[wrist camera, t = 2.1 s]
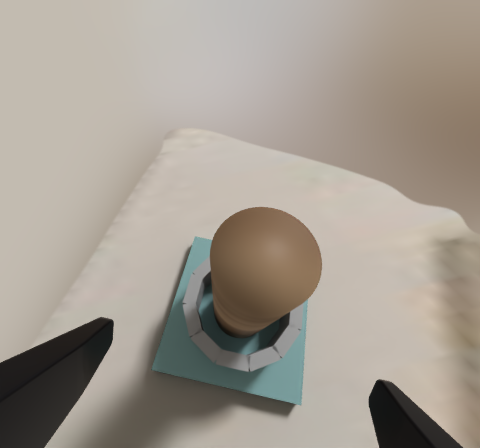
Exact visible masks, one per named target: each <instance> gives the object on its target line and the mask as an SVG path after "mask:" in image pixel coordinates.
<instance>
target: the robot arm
mask: <svg viewBox="0 0 480 448" xmlns="http://www.w3.org/2000/svg"><path fill="white" fill-rule="evenodd" d="M113 326H114V322H113V320H112V319H108V318H104V317H100V318H97V319H95V320H93V321H91V322H89V323H87V324H84V325H82V326H80V327H78V328H76V329H73V330H71V331H69V332H67V333H65V334H62V335H60V336H58V337H56V338H54V339H51V340H49V341H47V342H45V343H43V344H40V345H38V346H36V347H34V348H32V349H29V350H27V351H25V352H23V353H21V354H19V355H17V356H14V357H12V358H10V359H8V360H5V361H3V362H1V363H0V448H44V447H45V446H46V445H47V443H48V442H49V440H50V439H51V437H52V436H53V435H54V433H55V432H56V430H57V429H58V428H59V426H60V425H61V423H62V422H63V421H64V419H65V418H66V416H67V415H68V414H69V412H70V411H71V409H72V408H73V407H74V405H75V404H76V402H77V401H78V399H79V398H80V396H81V395H82V394H83V392H84V390H85V389H86V387H87V385H88V384H89V382H90V380H91V379H92V377H93V375H94V373H95V372H96V370H97V368H98V367H99V365H100V363H101V361H102V360H103V358H104V356H105V355H106V353H107V351H108V350H109V348H110V346H111V344H112V340H113ZM369 408H370V412H371V416H372V420H373V424H374V428H375V432H376V437H377V441H378V445H379V448H463V447H462V446H461V445H460V444H459V443H457V442H456V441H455V440H454V439H453V438H452V437H451V436H450V435H449V434H448V433H447V432H445V431H444V430H443V429H442V428H441V427H440V426H439V425H438V424H437V423H436V422H435V421H434V420H432V419H431V418H430V417H429V416H428V415H427V414H426V413H425V412H424V411H423V410H422V409H421V408H419V407H418V406H417V405H416V404H415V403H414V402H413V401H412V400H411V399H410V398H409V397H408V396H406V395H405V394H404V393H403V392H402V391H401V390H400V389H399V388H398V387H397V386H396V385H394V384H393V383H392V382H390V381H386V380H381V379H379V380H377V381H376V383H375V385H374V387H373V389H372V391H371V394H370V396H369Z"/></svg>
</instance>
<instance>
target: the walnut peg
mask: <svg viewBox="0 0 480 448" xmlns="http://www.w3.org/2000/svg"><path fill="white" fill-rule="evenodd" d="M210 267H211V280H212V293H213V306H214V316H215V319H216V322H217V324H218V326H219V327H220V328H221V330H222V331H223V332H225V333H226V334H227V335H229V336H231V337H234V338H247V337H250V336H253V335H254V334H256V333H257V332H259V331H260V330H262V329H264V328H265V327H267V326H268V325H270V324H271V323H273V322H275V321H276V320H278V319H279V318H281V317H282V316H284V315H286V314H287V313H289V312H290V311H292V310H293V309H295V308H297V307H298V306H300V305H301V304H303V303H304V302H305V301H306V300H307V299H308V298H309V297H310V296H311V295H312V294H313V292H314V291H315V289H316V287H317V285H318V283H319V280H320V276H321V270H322V259H321V253H320V250H319V246H318V244H317V242H316V240H315V238H314V236H313V235H312V233H311V232H310V231H309V229H308V228H307V227H306V226H305V225H304V224H303V223H302V222H300V221H299V220H298V219H297V218H295V217H293V216H292V215H290V214H288V213H286V212H283V211H281V210H278V209H274V208H268V207H255V208H249V209H245V210H242V211H240V212H237V213H235V214H234V215H232V216H230V217H229V218H228V219H227V220H225V221H224V222H223V223H222V224H221V226H220V227H219V228H218V230H217V231H216V233H215V235H214V237H213V240H212V243H211V248H210Z"/></svg>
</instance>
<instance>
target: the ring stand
mask: <svg viewBox="0 0 480 448" xmlns="http://www.w3.org/2000/svg"><path fill="white" fill-rule="evenodd" d="M211 243H212V240H209V239H205V238H200V237H195V238H194V241H193V244H192V247H191V250H190V253H189V257H188V260H187V263H186V266H185V269H184V272H183V275H182V278H181V281H180V284H179V287H178V290H177V293H176V296H175V299H174V302H173V305H172V308H171V311H170V314H169V317H168V320H167V323H166V326H165V330H164V333H163V336H162V339H161V342H160V345H159V348H158V351H157V354H156V357H155V360H154V363H153V366H152V369H151V370H154V371H158V372H162V373H166V374H171V375H175V376H179V377H183V378H188V379H192V380H196V381H200V382H204V383H209V384H213V385H217V386H221V387H226V388H230V389H234V390H238V391H243V392H247V393H251V394H255V395H260V396H264V397H268V398H272V399H277V400H281V401H285V402H289V403H294V404H298V405H301V400H302V384H303V368H304V352H305V336H306V320H307V304H308V299H307V300H306V301H305V302H304V303H303V304H301V305H300V306H298V307H297V308H295V309H293V310H292V311H290V312H289V313H287V314H286V315H284V316H282V317H281V318H279V319H278V320H276V321H275V322H273V323H271V324H270V325H268V326H267V327H265V328H264V329H262V330H260V331H259V332H257V333H256V334H254V335H253V336H250V337H247V338H234V337H231V336H229V335H227V334H226V333H225V332H223V331H222V330H221V328H220V327H219V326H218V324H217V322H216V319H215V316H214V306H213V293H212V280H211V267H210V248H211Z"/></svg>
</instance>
